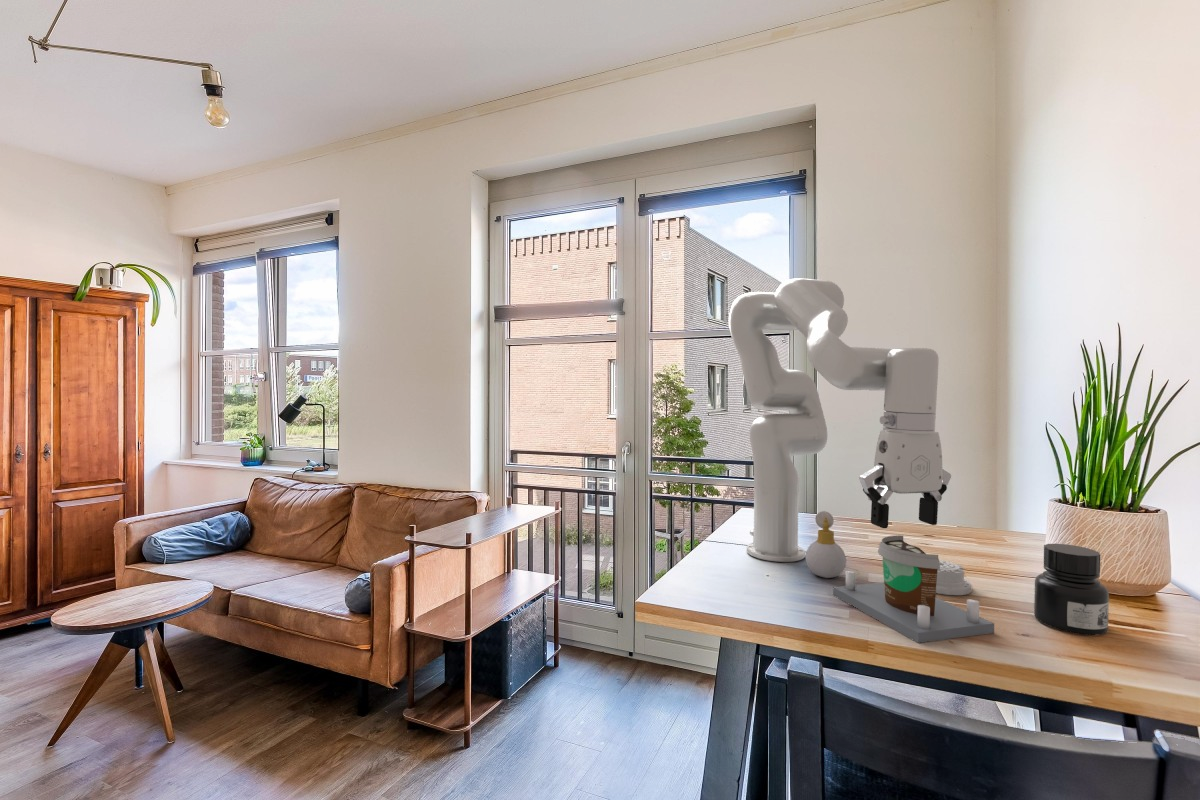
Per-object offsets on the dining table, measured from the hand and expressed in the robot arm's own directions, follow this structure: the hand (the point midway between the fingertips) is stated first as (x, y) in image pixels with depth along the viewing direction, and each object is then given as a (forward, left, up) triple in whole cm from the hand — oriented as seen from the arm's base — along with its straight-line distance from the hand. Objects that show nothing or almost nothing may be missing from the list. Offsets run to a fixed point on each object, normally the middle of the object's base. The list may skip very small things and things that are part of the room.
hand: (903, 524), depth 92 cm
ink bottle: (+11, +22, -15) cm, 28 cm away
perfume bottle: (-19, -1, -15) cm, 24 cm away
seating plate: (+1, 0, -15) cm, 15 cm away
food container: (+1, -1, -13) cm, 13 cm away
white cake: (-8, +16, -15) cm, 23 cm away
